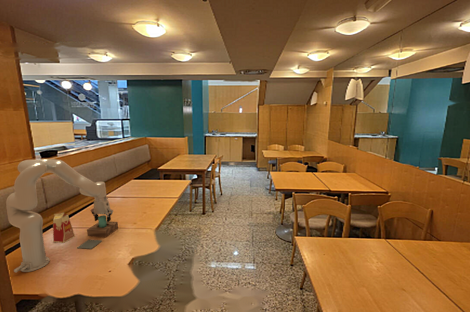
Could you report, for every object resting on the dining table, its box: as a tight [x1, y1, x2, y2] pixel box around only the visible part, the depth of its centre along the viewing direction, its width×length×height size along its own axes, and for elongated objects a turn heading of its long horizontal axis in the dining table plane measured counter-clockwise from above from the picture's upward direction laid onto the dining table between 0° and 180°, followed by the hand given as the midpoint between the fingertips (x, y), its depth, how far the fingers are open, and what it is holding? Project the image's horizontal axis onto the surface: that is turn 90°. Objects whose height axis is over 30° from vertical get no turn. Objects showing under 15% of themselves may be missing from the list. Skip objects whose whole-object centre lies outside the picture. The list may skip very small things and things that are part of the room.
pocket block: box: [86, 220, 119, 238], centre depth 164 cm, size 14×14×5 cm
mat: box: [76, 239, 103, 250], centre depth 147 cm, size 10×10×1 cm
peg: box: [97, 214, 107, 228], centre depth 163 cm, size 5×5×12 cm
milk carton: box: [52, 212, 76, 244], centre depth 152 cm, size 9×9×20 cm
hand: (102, 220), depth 163 cm, fingers open, 9 cm apart
